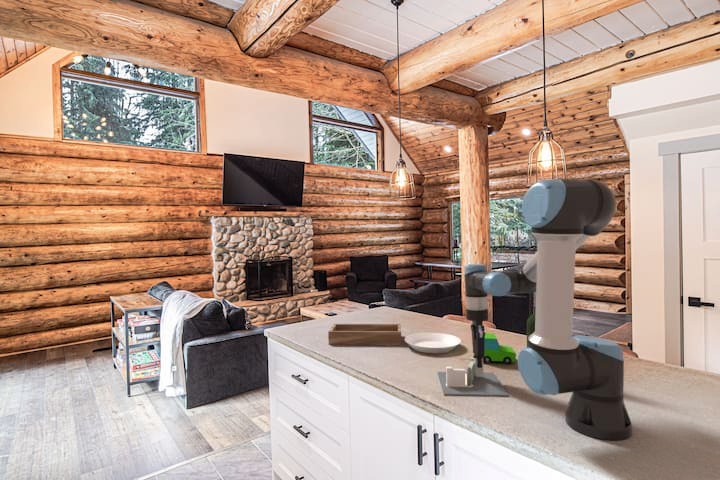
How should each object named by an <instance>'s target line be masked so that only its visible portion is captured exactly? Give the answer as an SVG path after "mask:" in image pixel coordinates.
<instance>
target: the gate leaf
mask: <svg viewBox="0 0 720 480" xmlns="http://www.w3.org/2000/svg"><path fill="white" fill-rule="evenodd" d="M467 367H470V368H471V383H472V381H473V379H474V376H475V361H474V358H473V356H471V357H470V360H469V364H468V366H467Z"/></svg>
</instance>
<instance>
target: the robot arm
mask: <svg viewBox="0 0 720 480" xmlns="http://www.w3.org/2000/svg"><path fill="white" fill-rule="evenodd" d="M616 210H617V199H616V197H615V194H614V192H613V190H612V189H611V188H610V187H609V186H608V185H607V184H605V183H603V182H601V181H599V180H596V179H571V178H570V179H569V178H568V179H567V178H552V179H551V178H549V179H541V180H538V181H537V182H535V183H533V184H532V185H531V186H530V187H529V189H528V190H527V191H526V193H525V195H524V197H523V200H522V204H521V216H522V218H523V219H524V220H523V221H524V223H525V224H526V225H527V226H529V227H531V235H533V237H534V238H535V239H536V240H537V250H536V251H535V253H534V255H532V256H531V258H529V259H528V260H527V261H526V263H525V264H524V265H523V266H522V268H520V269H519V270H518V269H517V270H502V271H501V270H500V271H499V270H498V271H489V270H488V269H487V268H488V267H487V265H486V264H485V263H476V264H475V263H472V264H470V263H469V264H466V265H464V274H463V275H464V276H463V277H464V289H465V291H464V292H465V296H464V299H465V300H464V301H465V308H466V309H465V319H467V321H471V322H472V323H471V324H470V330H471V341H472V342H471V343H472V353H473V355H472V357H473V358H474V361H475V376H476V377H484V374H483V372H484V360H483V358H484V344H485V333H486V332H485V325H484V324H483V322H486V321H488V320H489V309H488V308H489V302H490V298H488V297H489V296H492V297H503V296H505V295H510V294H534V293H535V292H536V313H535V332H534V333H533V334H531V335H530V336H529V337H528V348H527V347H524V348H522V349H521V350H520V351H519V352H518V354H517V367H518V370H519V374H520V376H521V378H522V380H523V381H524V383H525V384H526V386H527V387H528V388H529V390H531V391H532V392H533V393H535V394H537V395H541V396H550V395H551V396H556V395H560V394H566V393H568V394H569V393H571V396H570V399H569V401H568V403H567V406H566V409H565V414H564V417H565V423H566V425H568V426H569V427H570V428H571V429H573V430H575V431H576V432H578V433H580V434H582V435H585V436H588V437H592V438H595V439H600V440H607V441H608V440H609V441H619V440H620V441H621V440H625V439H626V440H627V439H628V438H630V437H631V436H632V435H633V425H632V421H631V418H630V415H629V413H628V410H627V407H626V405H625V400H624V384H625V383H624V380H625V378H624V372H625V371H624V369H625V365H624V364H625V363H624V362H625V359H624V351H623V348H622V346H621V345H620V344H618V343H617V342H614V341H611V340H608V339H605V338H600V337H595V336H589V335H581V334H580V335H579V334H576V335H574V336H573V326H574V325H573V323H574V301H575V300H574V298H575V297H574V296H575V277H576V276H575V273H576V270H575V269H576V251H577V250H578V248H580V247H581V246H582V245H583V244H584V243H585V242H586V241H587V240H588V239H589V238H590V237H596V236H597V235H599V234H600V233H601V232H602V231H603V230H605V229H606V227H608V225H609V224H610V223H611V221H612V219H613V218H614V216H615V214H616ZM488 295H489V296H488Z"/></svg>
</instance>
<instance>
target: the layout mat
mask: <svg viewBox="0 0 720 480" xmlns="http://www.w3.org/2000/svg"><path fill="white" fill-rule="evenodd" d="M483 374H484V377H476V376H474V379H473V381H472V383H471V386H467V371H465V386H447V384H446V371H437V375H438V379H439V382H440V387H441V389H442V393H443V396H452V397H453V396H454V397H455V396H456V397H458V396H461V397H463V396H466V397H509V396H510V395H509V393H508V392H507V390H506V389H505V387H504V386H503V385H502V383H501V381H500V380H499V378H498V377H497V375H496V373H494V372H493V371H492V372H489V371H488V372H486V371H485V372H484V371H483Z"/></svg>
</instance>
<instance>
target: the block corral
mask: <svg viewBox="0 0 720 480" xmlns="http://www.w3.org/2000/svg"><path fill="white" fill-rule="evenodd" d="M327 333H328V335H327V336H328V340H327V341H328V345H329V344H333V345H341V346H342V345H343V346H345V345H348V346H350V345H354V346H355V345H357V346H360V345H361V346H363V345H364V346H365V345H366V346H368V345H370V346H402V324H401V323H333V325H331V327H330V328H329V331H328V332H327Z"/></svg>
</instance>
